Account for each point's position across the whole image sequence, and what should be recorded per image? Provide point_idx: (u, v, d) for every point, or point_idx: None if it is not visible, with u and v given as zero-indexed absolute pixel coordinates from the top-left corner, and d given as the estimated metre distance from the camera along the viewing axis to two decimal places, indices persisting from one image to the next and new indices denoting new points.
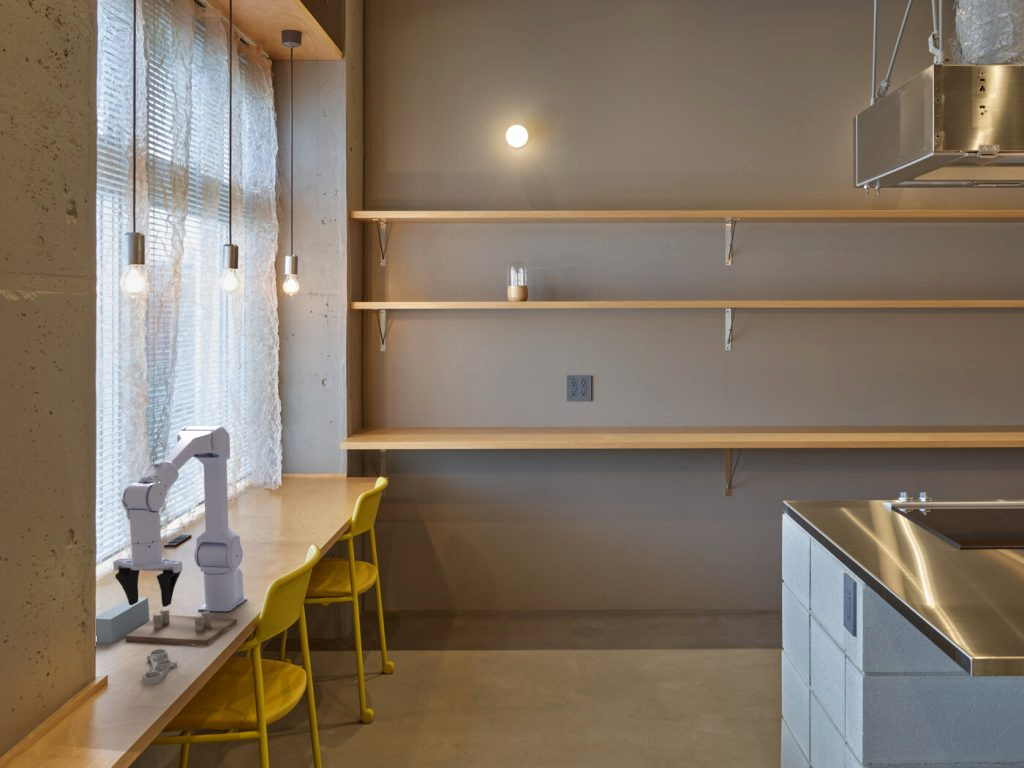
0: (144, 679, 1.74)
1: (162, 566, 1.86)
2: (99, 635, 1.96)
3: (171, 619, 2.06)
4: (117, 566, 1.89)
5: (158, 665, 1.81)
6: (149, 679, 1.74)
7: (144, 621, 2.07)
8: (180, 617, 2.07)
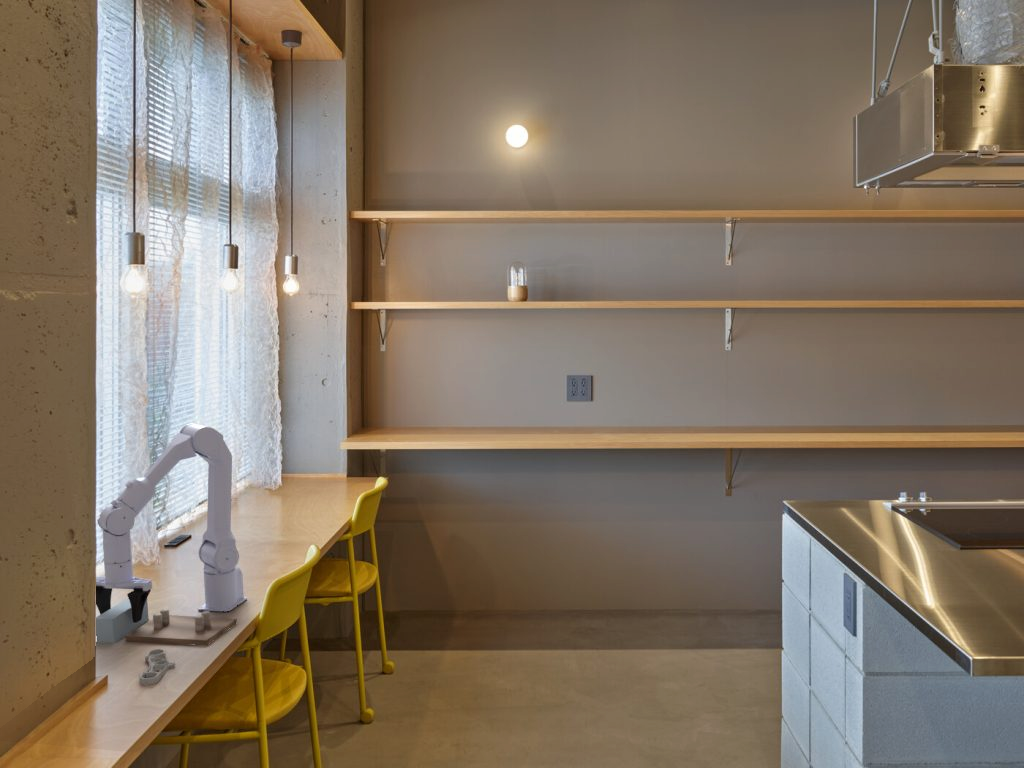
0: (141, 679, 1.74)
1: (133, 585, 1.99)
2: (100, 635, 1.96)
3: (171, 619, 2.06)
4: None
5: (156, 665, 1.80)
6: (146, 679, 1.74)
7: (143, 621, 2.07)
8: (180, 617, 2.07)
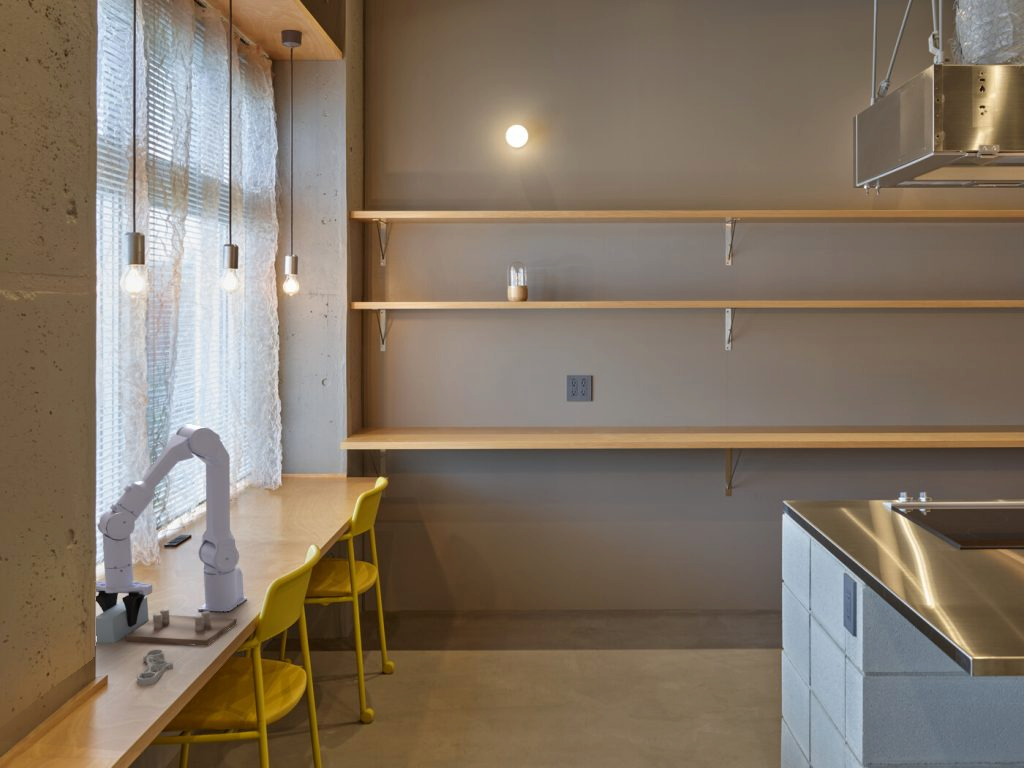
0: (139, 680, 1.74)
1: (133, 589, 1.99)
2: (100, 634, 1.96)
3: (171, 619, 2.06)
4: None
5: (154, 666, 1.80)
6: (144, 680, 1.73)
7: (143, 620, 2.07)
8: (180, 617, 2.07)
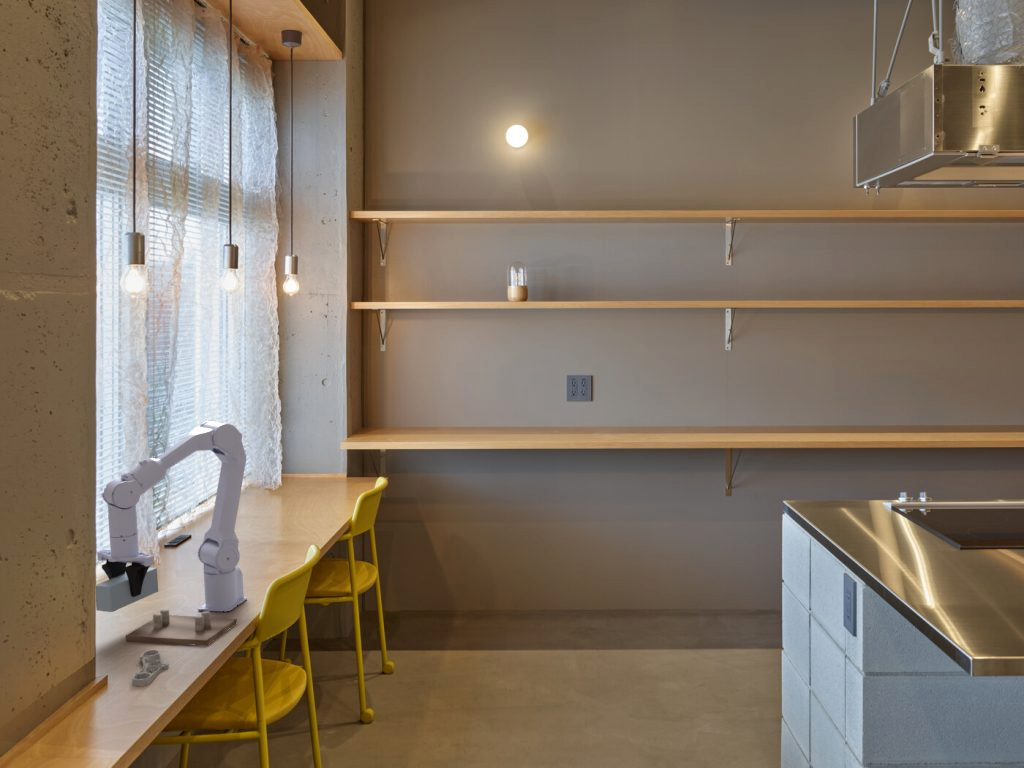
0: (134, 680, 1.74)
1: (134, 559, 1.98)
2: (100, 602, 1.96)
3: (171, 619, 2.06)
4: (100, 557, 2.02)
5: (149, 666, 1.80)
6: (138, 680, 1.73)
7: (152, 591, 2.06)
8: (180, 617, 2.07)
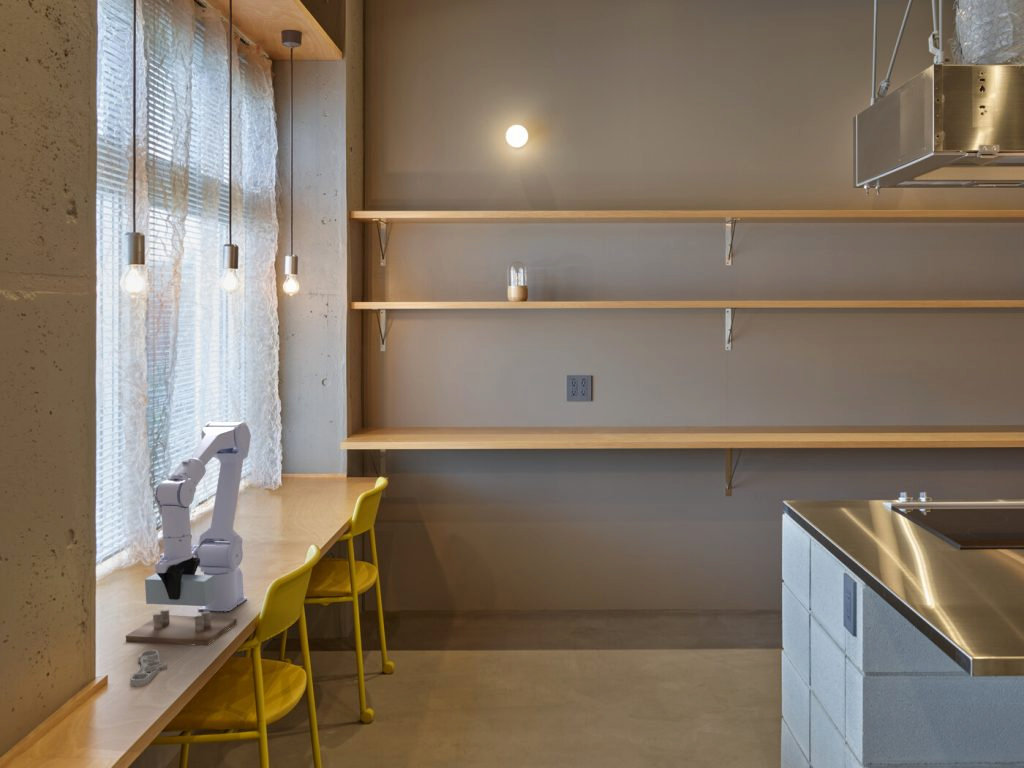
0: (131, 680, 1.73)
1: None
2: None
3: (171, 619, 2.06)
4: None
5: (147, 666, 1.80)
6: (136, 681, 1.73)
7: (197, 603, 1.97)
8: (180, 617, 2.07)
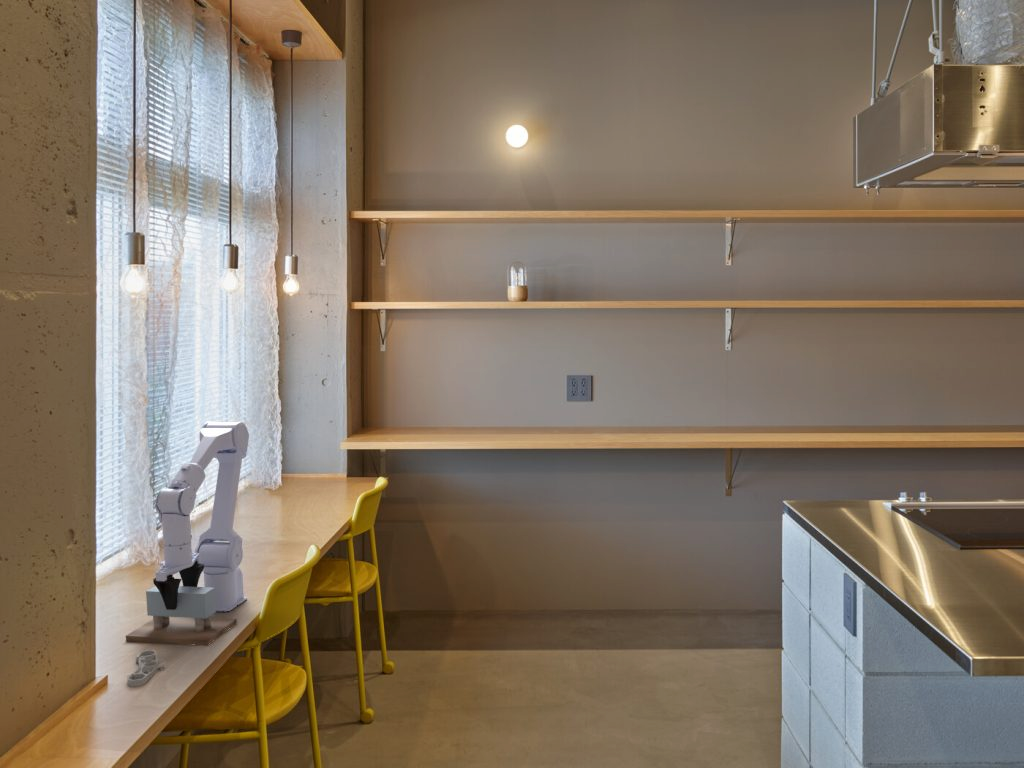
0: (128, 681, 1.73)
1: None
2: None
3: (171, 619, 2.06)
4: None
5: (145, 667, 1.80)
6: (133, 681, 1.73)
7: (197, 615, 1.98)
8: (180, 617, 2.07)
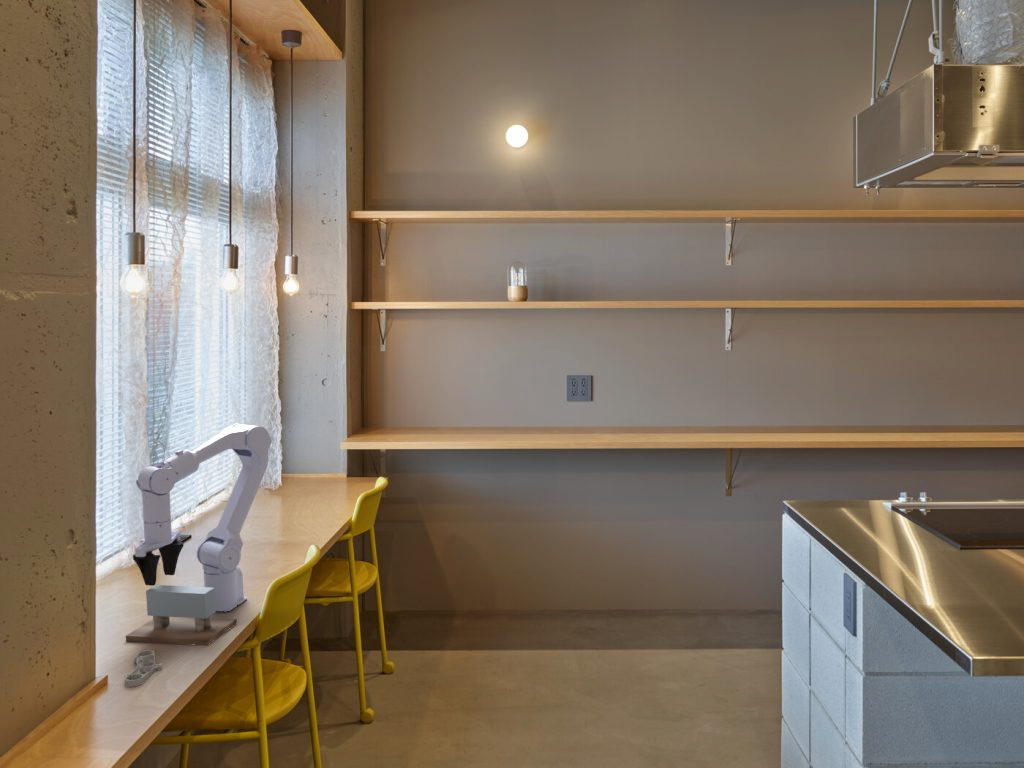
0: (125, 681, 1.73)
1: None
2: None
3: (171, 619, 2.06)
4: None
5: (142, 667, 1.80)
6: (130, 681, 1.73)
7: (197, 615, 1.98)
8: (180, 617, 2.07)
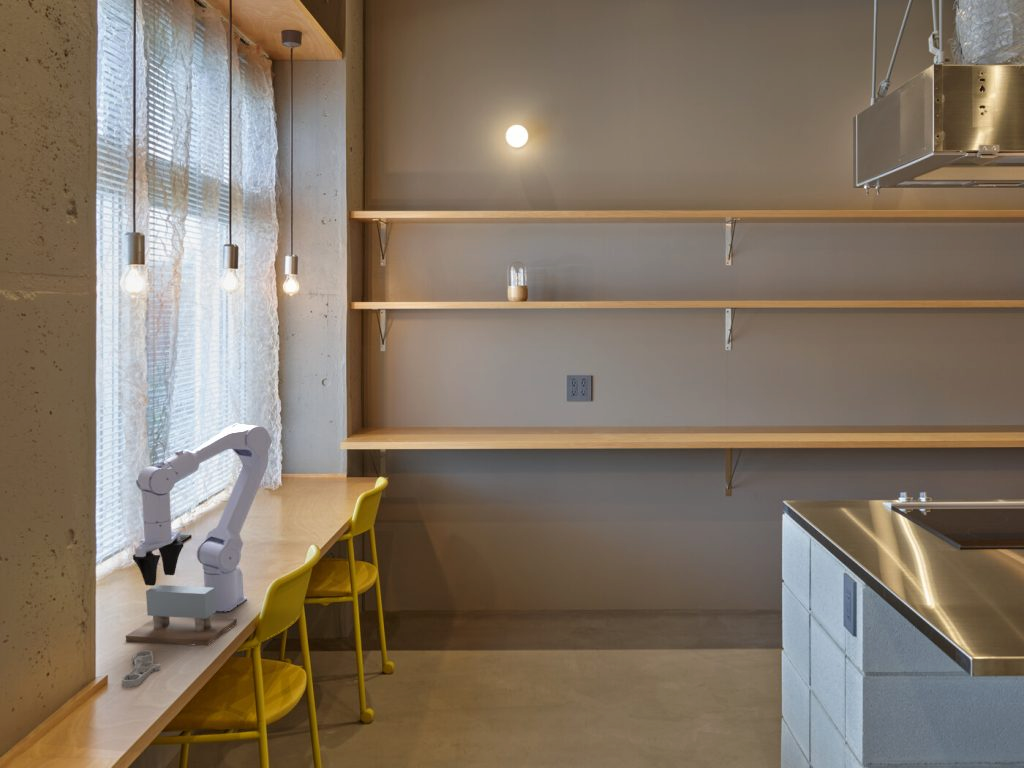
0: (123, 681, 1.73)
1: None
2: None
3: (171, 619, 2.06)
4: None
5: (140, 667, 1.80)
6: (127, 681, 1.73)
7: (197, 615, 1.98)
8: (180, 617, 2.07)
